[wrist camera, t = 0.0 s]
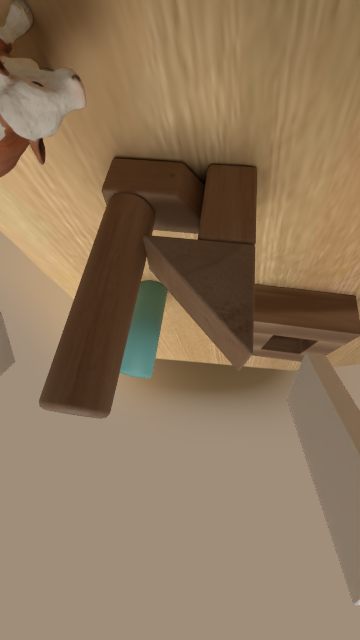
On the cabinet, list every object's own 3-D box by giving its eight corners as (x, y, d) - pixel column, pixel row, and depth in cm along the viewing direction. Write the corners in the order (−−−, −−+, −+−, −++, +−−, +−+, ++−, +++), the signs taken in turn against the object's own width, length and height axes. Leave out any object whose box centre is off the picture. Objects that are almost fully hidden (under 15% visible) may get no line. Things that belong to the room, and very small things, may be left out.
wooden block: (247, 206, 22) (238, 439, 15) (122, 196, 23) (54, 412, 15) (258, 164, 19) (253, 438, 11) (112, 154, 20) (17, 404, 12)
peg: (137, 279, 35) (115, 367, 30) (166, 282, 35) (150, 372, 30) (140, 294, 38) (122, 375, 33) (168, 297, 38) (153, 379, 33)
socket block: (255, 284, 32) (254, 321, 30) (355, 296, 31) (361, 334, 29) (235, 323, 43) (234, 352, 41) (310, 333, 42) (312, 363, 40)
